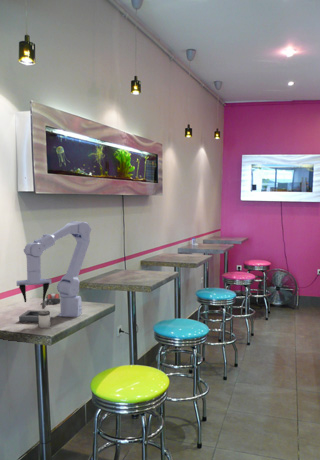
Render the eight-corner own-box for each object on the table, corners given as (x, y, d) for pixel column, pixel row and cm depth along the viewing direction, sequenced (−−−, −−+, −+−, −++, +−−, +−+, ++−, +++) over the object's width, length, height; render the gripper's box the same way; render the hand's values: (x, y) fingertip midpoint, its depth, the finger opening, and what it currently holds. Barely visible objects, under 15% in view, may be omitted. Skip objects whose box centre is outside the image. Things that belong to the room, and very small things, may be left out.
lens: (51, 324, 182) (51, 311, 182) (48, 328, 177) (47, 314, 177) (41, 324, 182) (40, 310, 182) (37, 327, 178) (36, 313, 177)
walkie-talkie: (42, 299, 227) (42, 309, 208) (42, 291, 227) (42, 300, 207) (59, 298, 229) (60, 308, 210) (59, 290, 229) (60, 299, 210)
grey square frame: (49, 316, 195) (49, 310, 194) (41, 322, 185) (41, 317, 184) (28, 315, 195) (28, 310, 195) (19, 322, 185) (19, 316, 185)
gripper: (50, 267, 189) (51, 297, 190) (16, 269, 185) (17, 300, 186) (51, 270, 182) (52, 301, 183) (16, 272, 178) (16, 304, 179)
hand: (34, 301), depth 184 cm, fingers open, 7 cm apart
